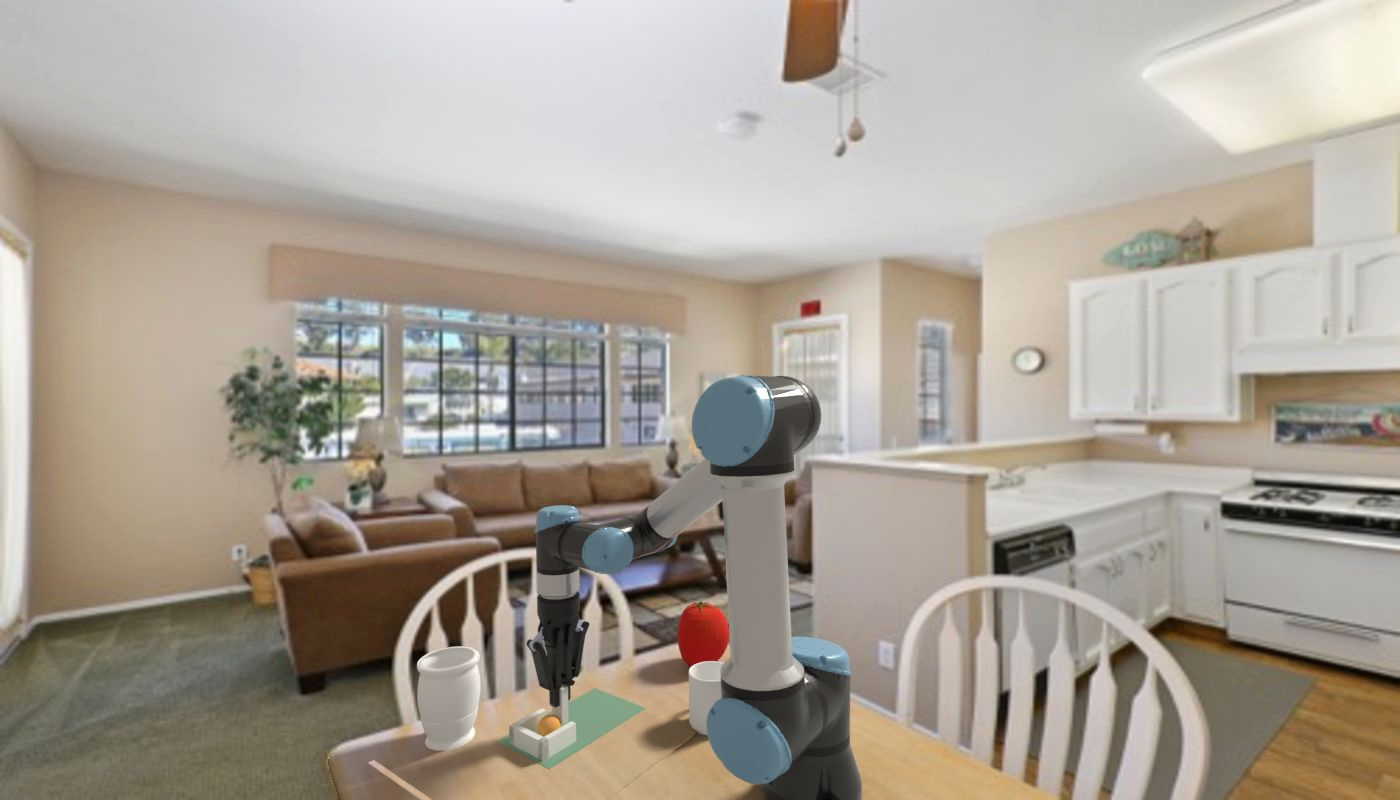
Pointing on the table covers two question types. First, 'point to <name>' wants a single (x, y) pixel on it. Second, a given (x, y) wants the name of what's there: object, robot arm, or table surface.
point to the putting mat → (588, 722)
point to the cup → (703, 692)
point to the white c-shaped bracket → (535, 744)
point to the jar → (448, 696)
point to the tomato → (702, 633)
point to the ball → (548, 725)
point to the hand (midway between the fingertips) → (560, 720)
